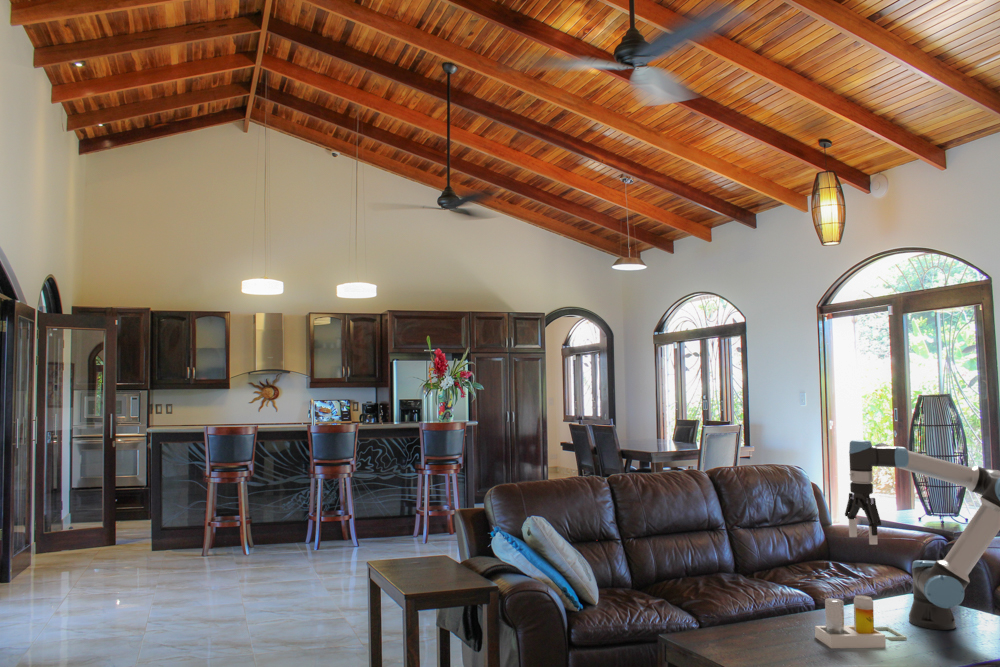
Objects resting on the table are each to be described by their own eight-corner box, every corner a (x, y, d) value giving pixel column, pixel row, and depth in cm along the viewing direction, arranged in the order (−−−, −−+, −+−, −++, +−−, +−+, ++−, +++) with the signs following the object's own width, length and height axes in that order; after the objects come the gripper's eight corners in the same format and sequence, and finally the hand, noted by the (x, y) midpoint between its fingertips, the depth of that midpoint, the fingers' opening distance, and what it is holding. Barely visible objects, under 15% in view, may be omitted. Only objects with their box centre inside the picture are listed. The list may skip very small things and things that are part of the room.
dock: (867, 638, 265) (867, 624, 265) (885, 648, 254) (885, 635, 254) (815, 639, 263) (815, 625, 264) (831, 650, 252) (831, 636, 253)
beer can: (876, 645, 255) (875, 600, 256) (857, 644, 256) (856, 599, 257) (871, 639, 261) (870, 595, 262) (852, 638, 262) (851, 594, 263)
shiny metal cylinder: (839, 639, 261) (838, 598, 262) (847, 645, 255) (846, 603, 256) (822, 639, 261) (821, 598, 262) (831, 645, 255) (830, 603, 256)
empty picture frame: (887, 629, 274) (887, 626, 274) (906, 639, 263) (906, 636, 263) (858, 630, 273) (858, 627, 273) (875, 640, 262) (875, 637, 262)
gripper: (834, 478, 291) (835, 533, 289) (870, 486, 266) (872, 547, 264) (853, 478, 291) (854, 533, 290) (890, 486, 266) (892, 547, 265)
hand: (863, 540), depth 277 cm, fingers open, 13 cm apart
